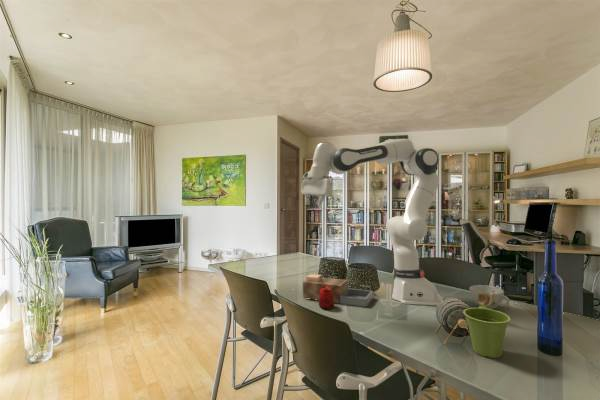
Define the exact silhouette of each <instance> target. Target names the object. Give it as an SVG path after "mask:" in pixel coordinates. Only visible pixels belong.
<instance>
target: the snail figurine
mask: <svg viewBox="0 0 600 400" xmlns="http://www.w3.org/2000/svg"><path fill="white" fill-rule="evenodd" d="M492 292H495V291H494V290H493V291H492ZM490 296H491V297H489V296H488V295H487V294H486V293H484V292H480V293H479V294H478V299H479V301H478V303H479V304H480V305H482V306H477V308H486V309H491V308H490V307H489V306H491V305H492V304H493V300H494V296H495V295H494V294H493V293H491V294H490ZM491 310H493V309H491Z"/></svg>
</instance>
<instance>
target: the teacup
mask: <svg viewBox="0 0 600 400" xmlns="http://www.w3.org/2000/svg"><path fill="white" fill-rule="evenodd" d="M493 290H494V291H495V292H492V291H493ZM480 292H484V293H486V294H487V295H488V296H489V297H491V296H490V294H491V293H493V294H494V295H495V296H494V300H493V304H492V305H491V306H489V307H490V308H491V309H492V310H495V309H496V308H497V307H507V306H508V305H509V303H510V299H509V297H508V296H507V295H505V291H504V289H502V288H501V287H497V286H493V285H486V284H485V285H482V284H475V285H470V287H469V293H470V296H471V298H472V300H473V301H474V302H475V304H476V305H477V307H479V306H482V305H480V304H479V303H478V301H479V299H478V294H479V293H480ZM504 299H505V300H506V303H502V302H503V300H504Z"/></svg>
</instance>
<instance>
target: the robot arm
mask: <svg viewBox="0 0 600 400" xmlns="http://www.w3.org/2000/svg"><path fill="white" fill-rule="evenodd" d="M439 160H440V159H439V154H438V153H437V151H436V150H435V149H433V148H429V147H425V148H421V149H418V150H417V149H415V146H414V143H413V141H412V140H411V139H408V138H396V139H391V140H386V141H383V142H380V143H377V144H375V145H373V146H370V147H364V148H360V149H354V148H353V149H352V148H348V147H344V148H340V149H337V148H336V146H335V145H334V144H333V143H331V142H327V141H326V142H320V143H318V144H317V145H316V147H315V149H314V154H313V158H312V165H311V167H310V170H309V171H307V172H305V173H304V174H303V177H302V179H303V180H302V183H301V187H300V193H301V195H303V196H304V199H305V201H304V204H305V205H310V203H311V200H310V198H311V197H312V196H313V197H314V196H316V197H319V199H318V200H317V201H316V205H317V206H319V207H320V206H321V207H322V205H323V202H324V201H325V199H326V197H331V196H332V194H333V188H334V186H333V185H334V182H333V181H334V178H333V176H332V175H330V172H331V173H333V174H336V175H343V174H345V173H347V172H348V171H351V170H353V169H354V168H355V167H357V166H358V165H359V164H364V163H369V162H375V163H377V164H379V165H390V164H395V163H398V162H399V165H400V168H401V170H402V171H403V173H404V174H406V175H408V176H415V180H414V182H413V184H412V186H411V187H410V190H409V192H408V194H407V196H406V198H405V200H404V204H405V209H404V213H403V215H396V216H393V217H391V218H389V219H388V220H387V221H386V224H385V230H386V232H387V233H388V235H389V238H390V241H391V246H392V250H393V260H394V261H393V263H394V267H393V273H392V274H393V280H394V282H393V290H392V294H391V298H392V299H394V300H395V301H398V302H400V303H403V304H404V305H421V306H437V304H438V303H439V302H441V301H443V302H444V298H443V297H442V295H440V294H439V292H438V288H436V285H435V284H433V282H431V281H430V280H428V279H427V278H425V272H424V269H421V268H420V263H419V262H420V258H419V250H418V249H417V248H416V246H415V243H414V241H418V240H422V239H423V238H425V237H426V236H427V233H428V224H427V222H426V221H427V216H428V215H427V213H428V210H429V208H430V206H431V204H432V202H433V199H434V197H435V195H436V193H437V190H438V187H439V183H440V177H439V175H438V174H437V173H436V172H437V171H438V165H439Z"/></svg>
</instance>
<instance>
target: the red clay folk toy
mask: <svg viewBox="0 0 600 400" xmlns="http://www.w3.org/2000/svg"><path fill="white" fill-rule="evenodd" d="M319 275H321V276H319V277H321V278H323V276H324V274H321V273H319ZM321 278H320V280H321ZM323 282H324V281H323V280H322V283H323ZM334 302H335V301H334V296H333V292H332V291H331V288H329V287H328V286H326V287H325V286H324V284H323V287H322V289H321V291H320V294H319V301H318V305H319V307H320V308H322V309H323V310H332V309H334V308H335V303H334Z"/></svg>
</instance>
